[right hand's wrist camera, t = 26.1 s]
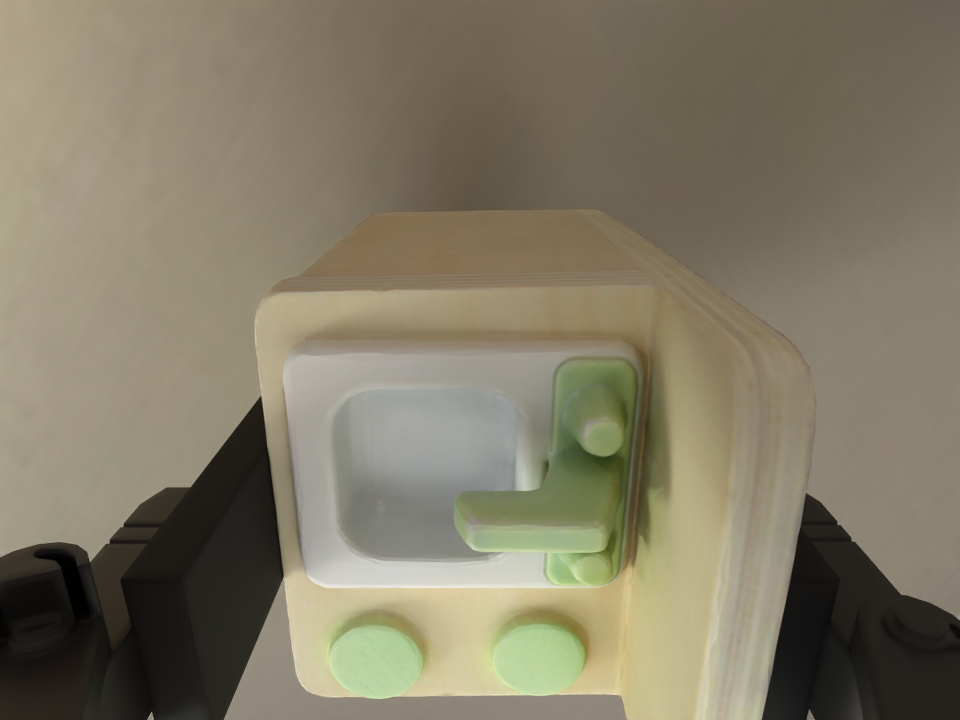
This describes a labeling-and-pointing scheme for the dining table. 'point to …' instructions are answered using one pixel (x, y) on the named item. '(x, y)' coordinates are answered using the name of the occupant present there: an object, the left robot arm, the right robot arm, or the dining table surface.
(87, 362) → the dining table surface
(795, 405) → the toy sink
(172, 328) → the dining table surface
